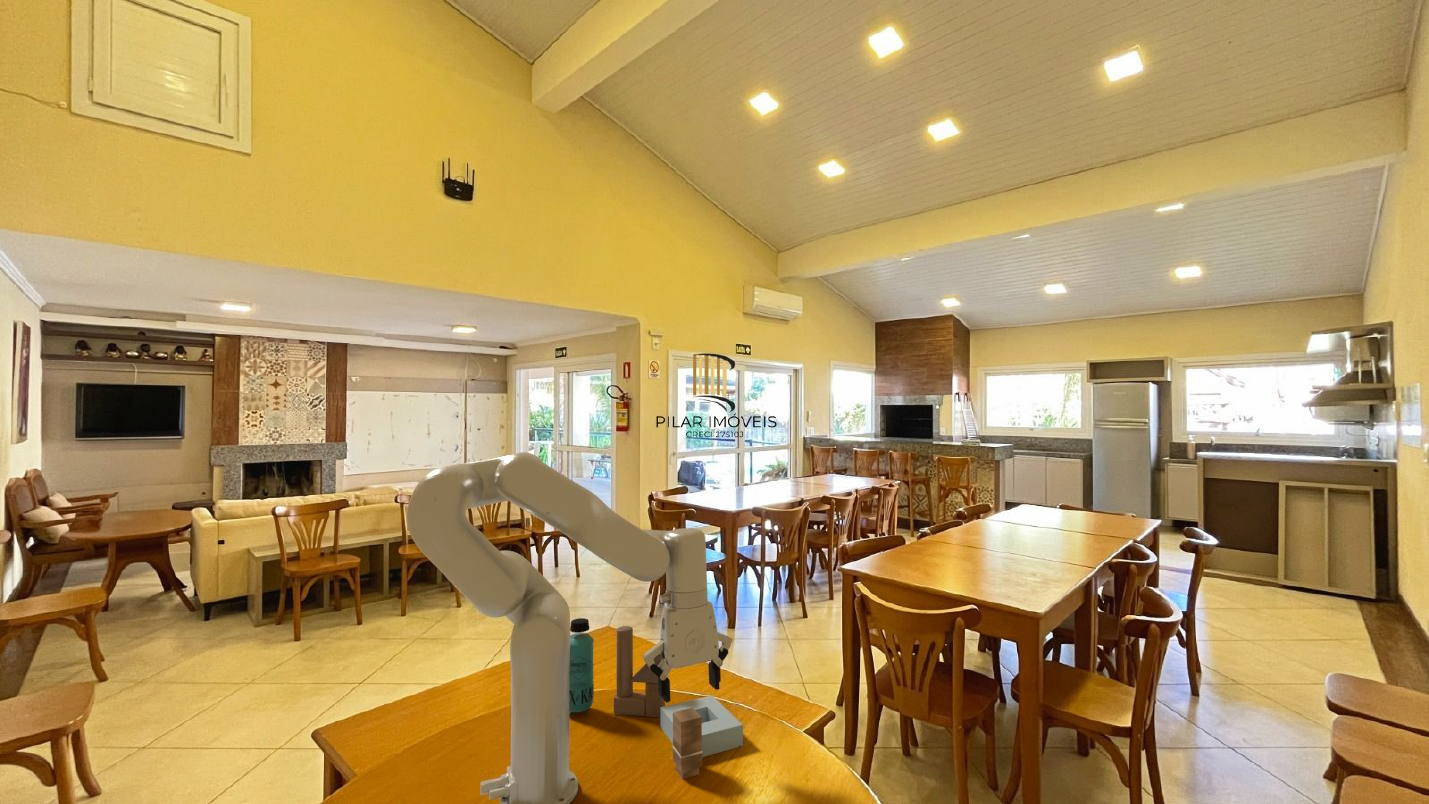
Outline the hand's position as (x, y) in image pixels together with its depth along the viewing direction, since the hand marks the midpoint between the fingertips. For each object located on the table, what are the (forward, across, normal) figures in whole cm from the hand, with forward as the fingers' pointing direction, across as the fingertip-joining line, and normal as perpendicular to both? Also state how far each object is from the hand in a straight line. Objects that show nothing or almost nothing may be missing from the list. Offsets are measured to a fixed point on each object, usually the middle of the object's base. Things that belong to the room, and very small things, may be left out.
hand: (690, 693), depth 102 cm
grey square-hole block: (+14, +6, +10) cm, 18 cm away
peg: (+14, -1, 0) cm, 14 cm away
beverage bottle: (+13, -14, +31) cm, 37 cm away
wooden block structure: (+14, -2, +25) cm, 29 cm away
